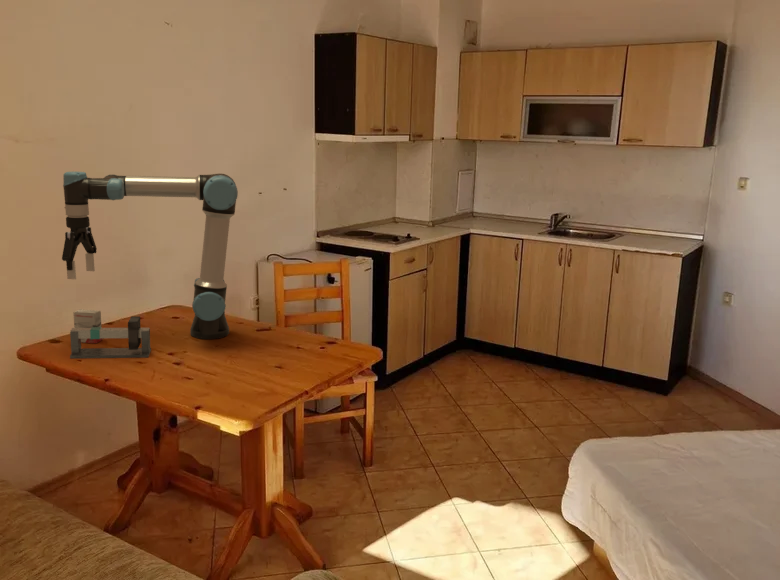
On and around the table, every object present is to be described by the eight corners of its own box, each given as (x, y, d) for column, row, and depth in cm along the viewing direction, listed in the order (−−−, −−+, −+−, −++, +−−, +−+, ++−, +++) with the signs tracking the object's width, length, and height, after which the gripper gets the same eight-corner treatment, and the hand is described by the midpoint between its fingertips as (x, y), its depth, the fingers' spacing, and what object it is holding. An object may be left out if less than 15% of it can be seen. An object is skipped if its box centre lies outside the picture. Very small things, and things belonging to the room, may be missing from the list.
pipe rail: (151, 350, 252) (150, 325, 250) (148, 357, 244) (147, 331, 242) (75, 351, 247) (74, 325, 244) (70, 358, 239) (68, 331, 237)
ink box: (103, 339, 260) (101, 310, 258) (96, 343, 256) (95, 313, 253) (81, 338, 261) (79, 308, 258) (74, 341, 256) (72, 311, 254)
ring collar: (140, 342, 251) (140, 316, 248) (137, 349, 243) (136, 322, 241) (132, 342, 250) (131, 316, 248) (128, 349, 242) (127, 322, 240)
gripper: (84, 211, 253) (88, 267, 258) (47, 220, 229) (52, 281, 234) (104, 212, 252) (107, 268, 257) (69, 221, 228) (74, 283, 233)
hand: (81, 275), depth 246 cm, fingers open, 13 cm apart
